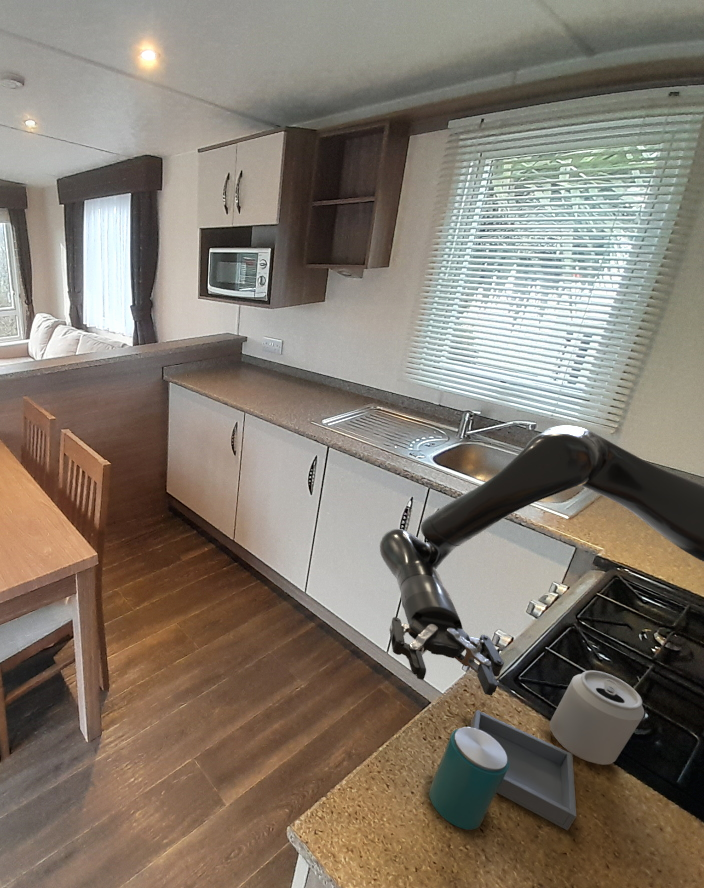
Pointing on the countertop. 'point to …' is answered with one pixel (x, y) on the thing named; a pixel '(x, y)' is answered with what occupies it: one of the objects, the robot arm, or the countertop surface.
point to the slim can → (468, 777)
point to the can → (597, 716)
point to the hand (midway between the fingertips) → (455, 683)
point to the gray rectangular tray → (533, 771)
